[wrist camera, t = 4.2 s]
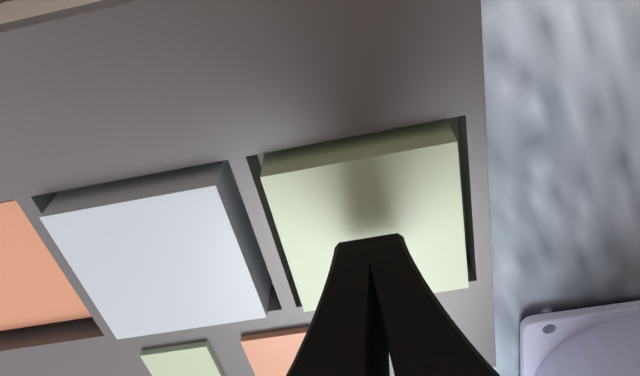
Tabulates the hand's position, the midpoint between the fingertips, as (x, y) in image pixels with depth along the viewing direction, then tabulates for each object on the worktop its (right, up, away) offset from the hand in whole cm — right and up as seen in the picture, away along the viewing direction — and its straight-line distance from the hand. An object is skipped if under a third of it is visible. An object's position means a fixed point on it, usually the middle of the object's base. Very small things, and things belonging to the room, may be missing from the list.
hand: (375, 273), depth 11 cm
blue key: (-5, +1, +4) cm, 6 cm away
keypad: (-5, +3, +6) cm, 8 cm away
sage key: (0, +2, +3) cm, 4 cm away
